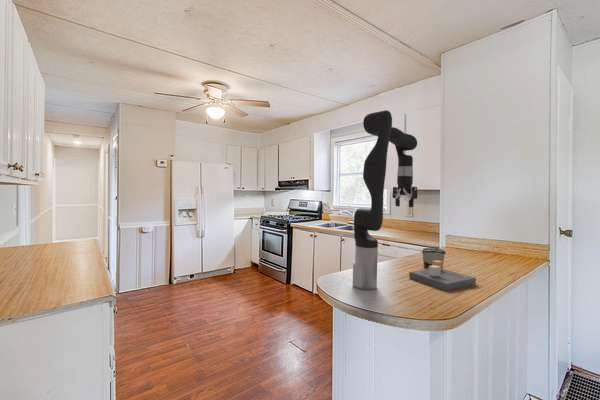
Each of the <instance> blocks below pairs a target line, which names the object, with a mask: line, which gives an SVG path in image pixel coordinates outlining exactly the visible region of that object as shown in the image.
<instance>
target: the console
mask: <svg viewBox="0 0 600 400" xmlns="http://www.w3.org/2000/svg"><path fill="white" fill-rule="evenodd" d="M408 276H409V279H411V280H413V281H417V282H420V283H422V284H426V285H428V286H430V287H434V288H437V289H440V290H443V291H445V292H449V291H454V290H458V289H462V288H466V287H471V286H475V285H476V283H477V277H474V276H470V275H466V274H464V273H459V272H455V271H452V270H449V269H445V268H443V270H441V273H440V276H435V277H434V276H431V275H429V268H423V269H417V270H413V271H412V270H411V271H409V275H408Z"/></svg>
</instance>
